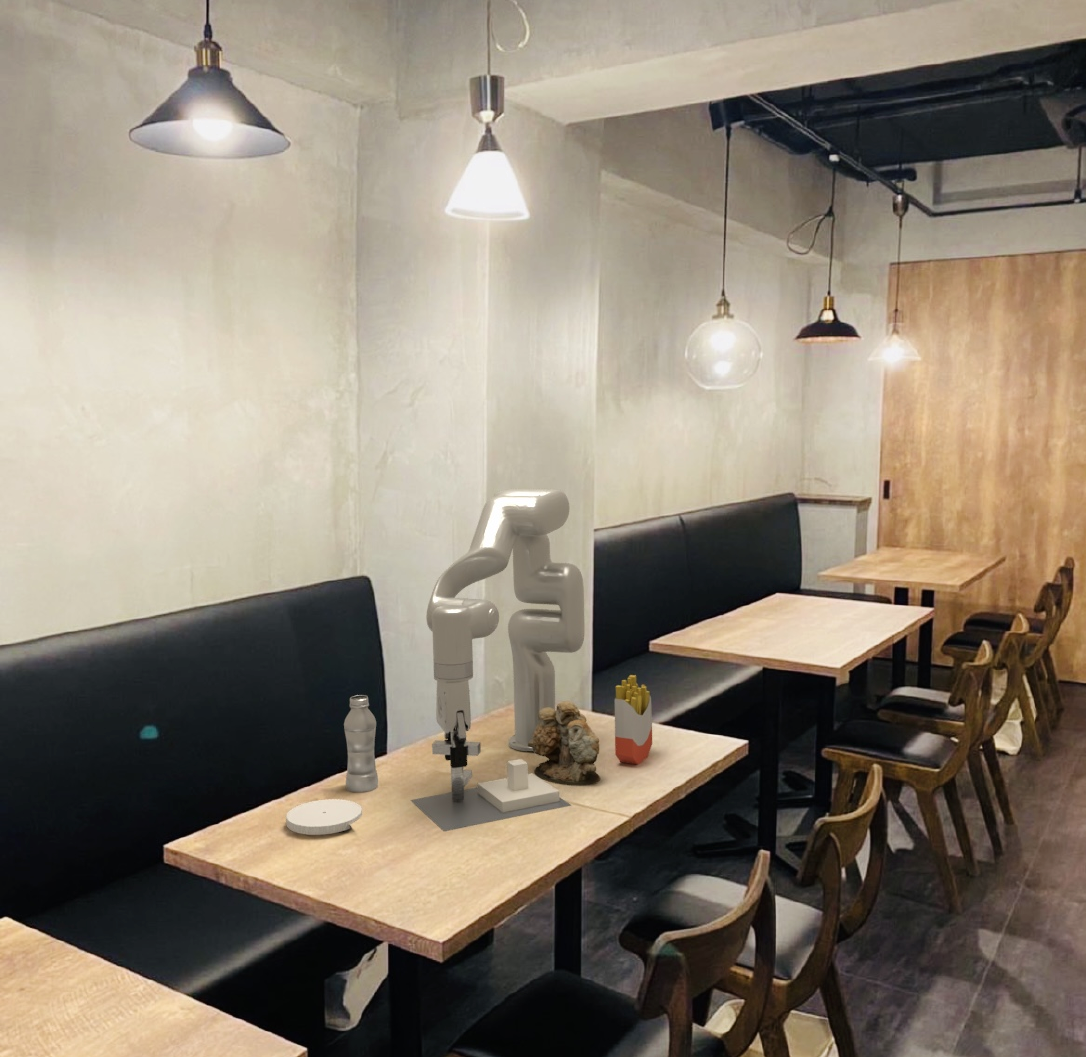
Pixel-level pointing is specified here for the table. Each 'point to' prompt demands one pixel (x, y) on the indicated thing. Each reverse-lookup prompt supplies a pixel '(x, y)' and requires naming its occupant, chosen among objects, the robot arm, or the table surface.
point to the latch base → (471, 810)
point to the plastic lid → (323, 816)
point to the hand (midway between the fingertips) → (456, 762)
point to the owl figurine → (565, 746)
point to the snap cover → (518, 789)
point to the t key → (458, 774)
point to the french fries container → (632, 722)
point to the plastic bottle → (360, 746)
